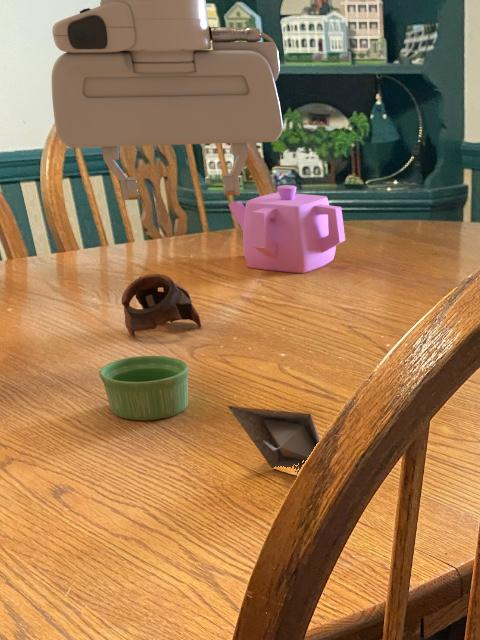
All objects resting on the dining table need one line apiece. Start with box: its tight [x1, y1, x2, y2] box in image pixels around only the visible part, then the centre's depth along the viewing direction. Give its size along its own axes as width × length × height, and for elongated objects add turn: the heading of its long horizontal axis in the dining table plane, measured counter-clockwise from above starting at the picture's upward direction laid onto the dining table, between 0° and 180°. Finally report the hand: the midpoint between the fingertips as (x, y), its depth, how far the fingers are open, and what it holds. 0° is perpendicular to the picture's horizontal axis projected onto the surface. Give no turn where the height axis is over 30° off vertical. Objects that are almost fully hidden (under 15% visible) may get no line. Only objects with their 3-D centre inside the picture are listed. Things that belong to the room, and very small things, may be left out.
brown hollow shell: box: [121, 273, 202, 338], centre depth 121 cm, size 12×10×8 cm
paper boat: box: [227, 405, 321, 477], centre depth 83 cm, size 12×6×9 cm
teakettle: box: [227, 184, 346, 274], centre depth 154 cm, size 17×17×12 cm
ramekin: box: [98, 355, 190, 421], centre depth 96 cm, size 9×9×4 cm
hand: (182, 196), depth 87 cm, fingers open, 8 cm apart
